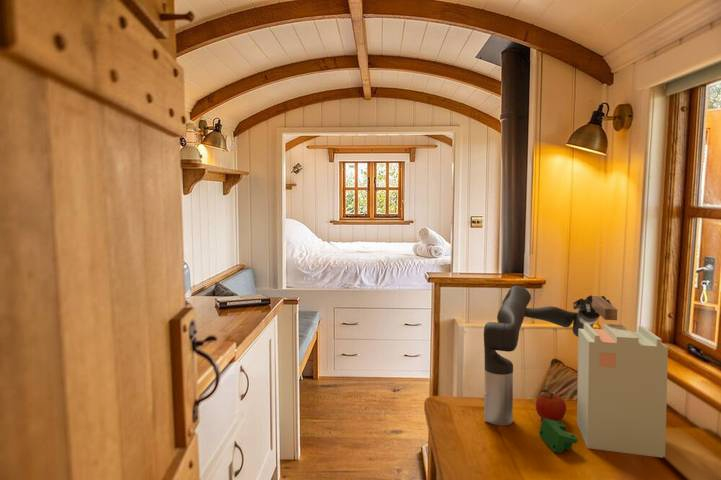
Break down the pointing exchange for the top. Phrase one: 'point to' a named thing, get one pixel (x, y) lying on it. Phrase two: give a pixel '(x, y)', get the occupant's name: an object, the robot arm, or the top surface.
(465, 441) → the top surface
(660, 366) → the rail stand
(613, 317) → the walnut bar
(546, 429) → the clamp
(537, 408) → the fruit
